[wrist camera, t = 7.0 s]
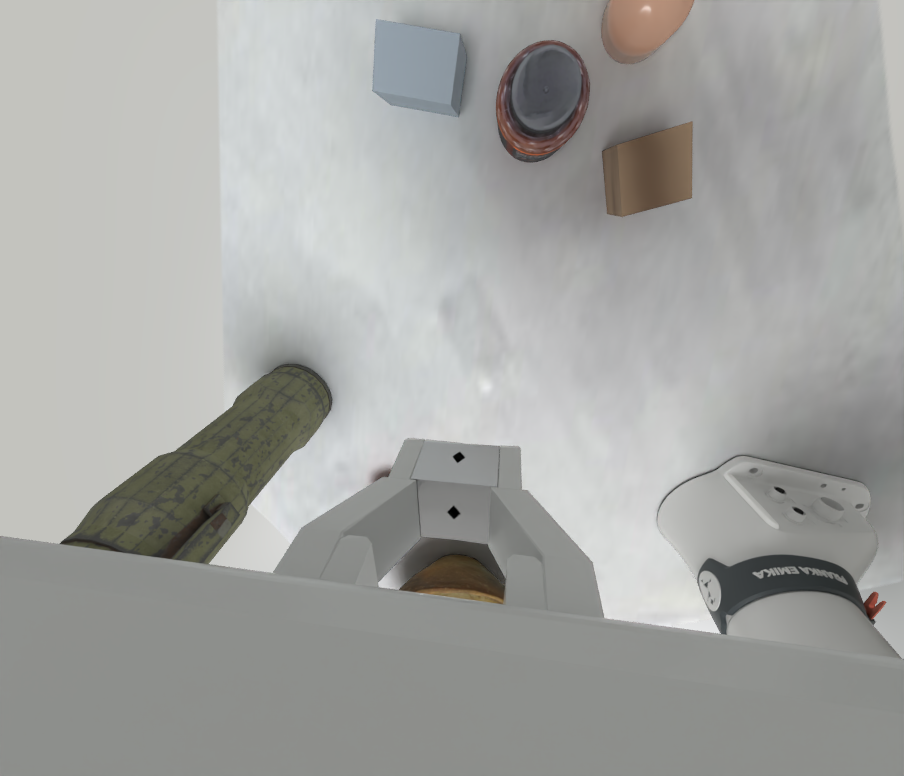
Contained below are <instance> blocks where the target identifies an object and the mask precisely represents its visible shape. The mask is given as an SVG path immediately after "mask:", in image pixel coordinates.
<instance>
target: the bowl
mask: <svg viewBox="0 0 904 776" xmlns="http://www.w3.org/2000/svg"><path fill="white" fill-rule="evenodd" d="M399 590H401V591H409V592H416V593H424V594H431V595H438V596H446V597H453V598H460V599H468V600H475V601H482V602H490V603H497V604H503V602H504V591H505V587H504V586H503V585H502V584H501V583H500V582H499V581H498V579H497V578H496V577H495V576H494V575H493V574H492V573H491V572H490V571H489V570H488V569H487V568H486V567H484V566H483V565H482V564H481V563H480V562H478V561H477V560H476V559H474V558H471V557H467V556H463V555H448V556H444V557H442V558H440V559H438V560H437V561H435V562H434V563H433V564H431V565H430V566H428V567H427V568H425V569H423V570H422V571H420V572H419V573H417V574H416V575H414V576H413V577H412V578H411V579H410V580H409V581H408V582H406V583H405V584H404V585H403V586H402V587H401V588H400V589H399Z"/></svg>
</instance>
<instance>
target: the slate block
mask: <svg viewBox="0 0 904 776" xmlns="http://www.w3.org/2000/svg"><path fill="white" fill-rule="evenodd" d="M466 61H467V55H466V52H465V48H464V45H463V42H462V38H461V35H460V34H459V33H453V32H447V31H442V30H436V29H430V28H424V27H419V26H413V25H407V24H401V23H395V22H390V21H384V20H378V19H376V29H375V49H374V70H373V90H372V91H373V92H375V93H376V94H377V95H379V96H380V97H381V98H383V99H384V100H385V101H386V102H388V103H389V104H390V105H394V106H400V107H405V108H411V109H416V110H422V111H427V112H433V113H438V114H444V115H449V116H455V117H459V111H460V103H461V96H462V89H463V82H464V75H465V68H466Z"/></svg>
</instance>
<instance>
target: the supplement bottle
mask: <svg viewBox="0 0 904 776" xmlns="http://www.w3.org/2000/svg"><path fill="white" fill-rule="evenodd" d="M589 92H590V82H589V77H588V73H587V69H586V67H585V64H584V62H583V60H582V59H581V57H580V55H579V54H578V53H577V52H576V51H575V50H574V49H573V48H572V47H570V46H568V45H566V44H564V43H562V42H560V41H554V40H551V41H549V40H548V41H540V42H537V43H534V44H532V45H530V46H528V47H526V48H525V49H523V50H522V51H521V52H520V53H519V54H517V56H516V57H515V58H514V59H513V60H512V61H511V62H510V64H509V65H508V67H507V69H506V70H505V72H504V74H503V76H502V79H501V81H500V84H499V88H498V92H497V99H496V116H497V123H498V130H499V135H500V138H501V141H502V143H503V145H504V147H505V148H506V150H507V151H508V152H509V153H510V154H511V155H512V156H513V157H514V158H516V159H518V160H520V161H524V162H538V161H541V160H544V159H546V158H548V157H550V156H551V155H552V154H554V153H555V152H556V151H557V150H558V149H559V148H561V147H562V146H563V145H564V144H565V143H566V142H567V141H568V140H569V139H570V138H571V137H572V136H573V135H574V133H575V132H576V131H577V129H578V128H579V126H580V124H581V122H582V120H583V118H584V115H585V112H586V110H587V106H588V101H589Z"/></svg>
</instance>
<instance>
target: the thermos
mask: <svg viewBox="0 0 904 776" xmlns="http://www.w3.org/2000/svg"><path fill="white" fill-rule="evenodd" d="M331 405H332V397H331V393H330V390H329V388H328V386H327V385H326V383H325V381H324V380H323V379H322V378H321V377H320V376H319V375H318V374H317V373H315V372H313V371H312V370H310V369H309V368H307V367H303V366H300V365H297V364H286V365H283V366H280V367H277V368H276V369H275V370H274V371H272V372H271V373H270V374H267V375H264V376H263V377H262V378H260V379H259V380H258V381H256V382H255V383H254V384H252V385H251V386H250V387H249V388H247V389H246V390H245V391H244V392H242V393H241V394H240V395H239V396H238V397H237V398H236V400H235V402H234V404H233V406H232V407H231V408H230V409H228V410H227V411H226V412H225V413H223V414H222V415H221V416H219V417H218V418H217V419H216V420H214V421H213V422H212V423H210V424H209V425H208V426H207V427H205V428H204V429H203V430H201V431H200V432H199V433H197V434H196V435H195V436H194V437H192V438H191V439H190V440H188V441H187V442H186V443H185V444H183V445H182V446H181V447H180V448H178V449H177V450H176V451H174V452H171V453H167V454H164V455H160V456H158V457H157V458H155V459H154V460H153V461H151V462H150V463H149V464H147V465H146V466H145V467H143V468H142V469H141V470H139V471H138V472H137V473H135V474H134V475H133V476H131V477H130V478H129V479H127V480H126V481H125V482H123V483H122V484H121V485H119V486H118V487H117V488H115V489H114V490H113V491H112V492H110V493H109V494H108V495H106V496H105V497H103V498H102V499H101V500H100V501H98V503H96V504H95V505H94V506H93V507H92V508H91V509H90V511H89V512H88V513H87V515H86V516H85V518H84V519H83V520H82V522H81V523H80V524H79V526H78V527H77V529H76V530H75V531H74V532H73V533H72V534H71V535H70V536H68V537H67V538H66V539H64V540H63V541H62V542H61V543H60V544H63V545H70V546H78V547H85V548H92V549H100V550H107V551H114V552H122V553H129V554H137V555H144V556H151V557H159V558H166V559H173V560H181V561H188V562H195V563H203V564H209V563H210V561H211V560H212V559H213V558H214V556H215V555H216V554H217V553H218V552H219V550H220V549H221V548H222V547H223V545H224V544H225V543H226V542H227V540H228V539H229V538H230V536H231V535H232V534H233V533H234V532H235V530H236V529H237V528H238V527H239V525H240V524H241V523H242V521H243V520H244V518H245V516H246V514H247V510H248V506H249V505H250V504H251V502H252V501H253V500H254V499H255V497H256V496H257V495H258V494H259V493H260V491H261V490H262V489H263V488H264V487H265V485H266V484H267V483H268V482H269V481H270V479H271V478H272V477H273V476H274V475H275V473H276V472H277V471H278V470H279V468H280V467H281V466H282V465H283V464H284V462H285V461H286V460H287V459H288V458H289V456H290V455H291V454H292V453H293V452H294V451H296V450H298V449H300V448H302V447H304V446H305V445H306V443H307V442H308V441H309V440H310V438H311V437H312V436H313V435H314V433H315V432H316V431H317V430H318V428H319V427H320V425H321V424H322V422H323V419H325V418H326V416H327V415H328V413H329V412H330V410H331Z"/></svg>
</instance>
